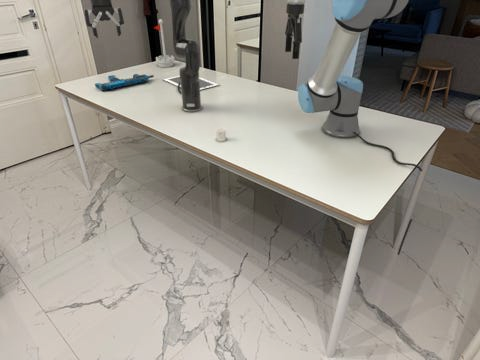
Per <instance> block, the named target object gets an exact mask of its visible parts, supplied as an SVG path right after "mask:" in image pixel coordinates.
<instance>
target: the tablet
mask: <svg viewBox="0 0 480 360" xmlns="http://www.w3.org/2000/svg"><path fill="white" fill-rule="evenodd" d="M162 80H163V81H165V82H166V83H169V84H171V85H173V86H175V87H178V84H179V82H180V75H176V76H172V77H167V78H163V79H162ZM199 82H200V91H204V90H206V89H210V88H214V87H218V86H220V84H219V83H216V82H214V81H210V80H209V79H205V78H202V77H200V76H199ZM179 89H181V84H180V86H179Z"/></svg>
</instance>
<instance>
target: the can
mask: <svg viewBox="0 0 480 360" xmlns="http://www.w3.org/2000/svg"><path fill="white" fill-rule="evenodd" d="M226 133H227V131H226V129H225V128H217V129H216V141H218V142H226V140H227V134H226Z"/></svg>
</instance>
